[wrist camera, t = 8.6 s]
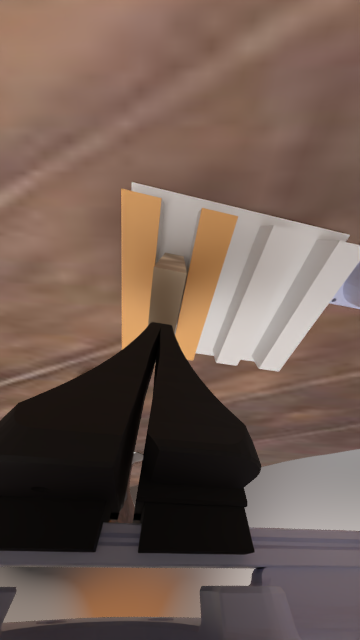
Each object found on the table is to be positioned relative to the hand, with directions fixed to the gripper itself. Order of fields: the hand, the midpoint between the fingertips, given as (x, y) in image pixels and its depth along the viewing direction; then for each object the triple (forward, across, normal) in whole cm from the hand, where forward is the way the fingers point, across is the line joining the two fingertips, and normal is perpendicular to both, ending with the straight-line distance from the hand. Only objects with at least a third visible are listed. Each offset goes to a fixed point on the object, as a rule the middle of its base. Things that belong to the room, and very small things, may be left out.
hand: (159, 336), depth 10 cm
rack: (+10, -6, 0) cm, 12 cm away
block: (+9, 0, 0) cm, 9 cm away
